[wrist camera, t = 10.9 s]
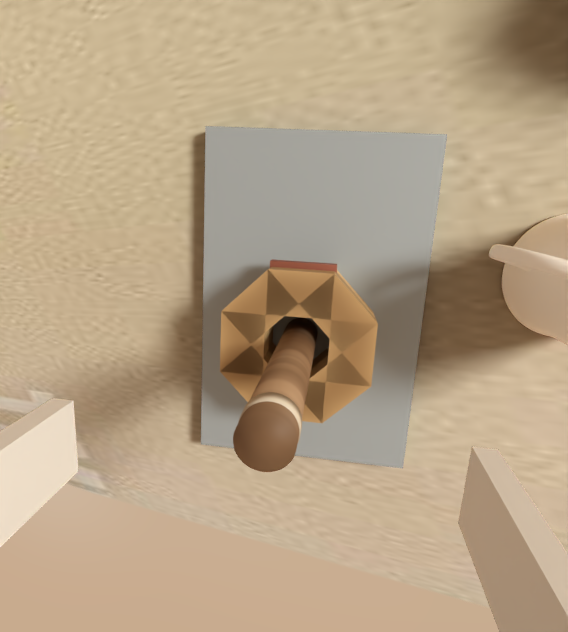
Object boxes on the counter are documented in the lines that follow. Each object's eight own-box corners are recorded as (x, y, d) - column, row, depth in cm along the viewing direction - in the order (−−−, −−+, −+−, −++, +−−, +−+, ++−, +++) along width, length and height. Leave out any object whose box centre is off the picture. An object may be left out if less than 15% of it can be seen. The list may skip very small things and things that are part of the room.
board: (210, 129, 30) (205, 126, 29) (442, 138, 28) (447, 134, 27) (205, 437, 35) (200, 444, 34) (400, 459, 34) (402, 468, 32)
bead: (237, 255, 30) (222, 259, 27) (377, 264, 29) (383, 270, 25) (232, 394, 33) (218, 417, 29) (362, 408, 32) (365, 433, 28)
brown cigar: (285, 315, 31) (232, 407, 15) (319, 318, 31) (300, 415, 15) (283, 348, 32) (230, 468, 16) (316, 351, 31) (296, 477, 16)
